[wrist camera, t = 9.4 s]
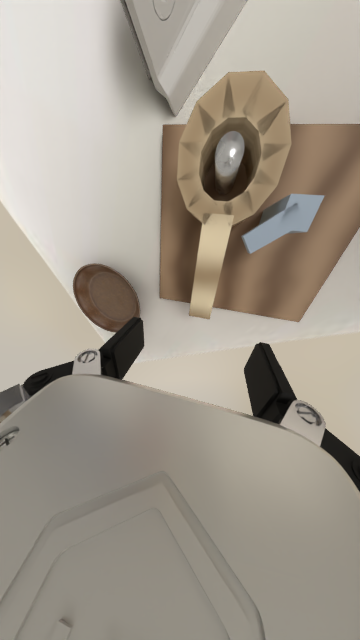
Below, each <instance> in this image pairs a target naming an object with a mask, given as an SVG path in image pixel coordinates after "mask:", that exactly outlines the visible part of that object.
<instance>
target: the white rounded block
mask: <svg viewBox="0 0 360 640" xmlns="http://www.w3.org/2000/svg"><path fill="white" fill-rule="evenodd" d="M120 1H121V3H122V6H123V9H124V12H125V15H126V17H127V20H128V23H129V26H130V28H131V31H132V34H133V37H134V40H135V42H136V45H137V48H138V51H139V54H140V56H141V59H142V62H143V65H144V67H145V70H146V73H147V75H148V78H149V79H150V77H152V80H153V83H154V86H155V89H156V90H157V91H158V92H159V93H160V94H162V95H163V96H164V97H165V98H166V99H167V101H168V103H169V106H170V108H171V110H172V113H173V114H174V115H175V116H177V114H178V113H179V111H180V109H181V108H182V106H183V104H184V103H185V101H186V99H187V98H188V96H189V95H190V93H191V91H192V90H193V88H194V86H195V85H196V83H197V82H198V80H199V78H200V77H201V75H202V73H203V72H204V70H205V68H206V67H207V65H208V64H209V62H210V60H211V59H212V57H213V55H214V54H215V52H216V51H217V49H218V47H219V46H220V44H221V42H222V41H223V39H224V37H225V36H226V34H227V33H228V31H229V29H230V28H231V26H232V24H233V23H234V21H235V20H236V18H237V16H238V15H239V13H240V11H241V10H242V8H243V6H244V5H245V3H246V2H247V0H120Z"/></svg>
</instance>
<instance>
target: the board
mask: <svg viewBox="0 0 360 640" xmlns="http://www.w3.org/2000/svg"><path fill="white" fill-rule="evenodd" d="M185 127H186V125H163V147H162V203H161V259H160V298H164V299H170V300H175V301H181V302H187V303H191V297H192V290H193V283H194V277H195V270H196V263H197V256H198V249H199V242H200V235H201V229H202V223H201V222H200V221H198V220H197V219H196V218H195V217H194V216H193V215H192V214H191V213H190V212H189V211H188V210H187V208H186V205H185V202H184V199H183V196H182V193H181V190H180V188H179V185H178V182H177V171H178V154H179V141H180V139H181V137H182V134H183V132H184V130H185ZM290 130H291V143H292V144H291V147H290V150H289V153H288V156H287V159H286V162H285V165H284V167H283V170H282V173H281V176H280V179H279V182H278V185H277V187H276V188H275V189H274V190H273V192H272V193H271V194H270V195H269V196H268V198H267V199H266V200H265V201H264V203H263V204H262V205H261V206H260V208H259V209H258V210H257V211H256V212H255V214H254V215H252V216H251V217H249V218H247V219H246V220H244V221H243V222H241V223H238V224H236V225H234V226H232V227H231V231H230V235H229V239H228V243H227V248H226V252H225V256H224V260H223V264H222V269H221V273H220V277H219V281H218V285H217V290H216V294H215V298H214V302H213V306H212V307H216V308H221V309H227V310H233V311H238V312H244V313H250V314H256V315H261V316H267V317H273V318H278V319H284V320H290V321H296V322H299V321H300V320H301V318H302V317H303V315H304V314H305V312H306V310H307V309H308V307H309V306H310V304H311V303H312V301H313V300H314V298H315V296H316V295H317V293H318V292H319V290H320V289H321V287H322V285H323V284H324V282H325V281H326V279H327V278H328V276H329V274H330V273H331V271H332V270H333V268H334V267H335V265H336V263H337V262H338V260H339V259H340V257H341V256H342V254H343V252H344V251H345V249H346V248H347V246H348V245H349V243H350V241H351V240H352V238H353V237H354V235H355V234H356V232H357V230H358V229H359V227H360V124H290ZM246 183H247V175H246V169H245V165H244V164H243V163H242V162H241V163H240V166H239V169H238V172H237V175H236V178H235V181H234V184H233V187H232V189H231V190H230V191H229V192H228V193H226V194H219V193H218V192H217V191H216V188H215V163H214V164H213V165H212V166H211V168H210V170H209V172H208V173H207V175H206V177H205V183H204V191H205V192H206V193H207V194H208V195H209V196H210V197H211V198H212V199H213V200H214V201H230V200H232V199H234V198H235V197H237V196H239V195H241V194H242V193H244V191H245V187H246ZM290 194H306V195H323V196H324V198H323V200H322V202H321V204H320V206H319V208H318V211H317V213H316V215H315V217H314V219H313V221H312V223H311V225H310V227H309V229H308V231H307V232H302V233H289V234H285V235H283V236H281V237H279V238H278V239H276V240H274V241H272V242H271V243H269V244H267V245H265V246H263V247H262V248H260V249H258V250H256V251H255V252H253V253H251V254H249V253H248V252H247V249H246V247H245V244H244V242H243V239H242V237H241V236H243V235H244V234H246V233H247V232H249V231H250V230H252V229H254V228H255V227H257V226H258V225H259V223H260V220H261V217H262V213H263V210H265V209H266V208H268V207H270V206H271V205H273V204H275V203H276V202H278V201H280V200H281V199H283V198H285V197H286V196H288V195H290Z"/></svg>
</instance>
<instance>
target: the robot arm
mask: <svg viewBox="0 0 360 640" xmlns="http://www.w3.org/2000/svg"><path fill="white" fill-rule="evenodd" d="M143 347H144V332H143V320H141V318H138V317H133V318H132V319H130V320H129V321H128V322H127V323H126V324H125V325H124V326H123V327H122V328H121V329H120V330H119V331H118V332H117V333H116V334H115V335H114V336H112V337H111V338H110V339H109V340H108V341H107V342H106V343H105V344H104V345H103V346H102V347H101V348H100V349H99V350H96V349H87V350H84V351H82V352H80V353H79V354H78V355H77V356H76V357H75V360H74V361H72V362H68V363H65V364H62V365H59V366H55V367H51V368H48V369H45V370H41V371H39V372H37V373H35V374H33V375H31V376H30V377H29V378H28V379H27V380H26V381H25V382H24V384H23V385H21V386H20V384H18V385H15V386H13V387H11V388H9V389H7V390H5V391H3V392H0V640H360V456H359V455H357V454H356V453H355V452H354V451H353V450H351V449H350V448H349V447H348V446H346V445H345V444H344V443H343V442H341V441H340V440H339V439H338V438H337V437H335V436H334V435H333V434H332V433H330V432H329V431H328V430H327V429H326V428H325V427H326V426H325V425H326V423H325V421H324V419H323V417H322V416H321V414H320V413H319V412H318V411H317V410H316V409H315V408H314V407H312V406H311V405H310V404H308V403H306V402H304V401H301V400H297V398H296V396H295V394H294V392H293V390H292V388H291V386H290V384H289V382H288V380H287V378H286V377H285V374H284V372H283V370H282V368H281V366H280V365H279V363H278V361H277V359H276V357H275V355H274V353H273V351H272V349H271V347H270V345H269V344H266V343H261V342H260V343H259V344H256V345H255V347H254V350H253V351H252V354H251V356H250V358H249V360H248V362H247V364H246V366H245V368H244V374H245V378H246V383H247V388H248V393H249V398H250V402H251V407H252V412H253V416H251V415H248V414H244V413H241V412H237V411H234V410H230V409H227V408H223V407H219V406H216V405H213V404H209V403H205V402H202V401H198V400H195V399H191V398H187V397H184V396H180V395H176V394H173V393H169V392H166V391H162V390H159V389H155V388H151V387H147V386H144V385H140V384H136V383H133V382H129V381H125V380H122V379H123V377H124V376H125V374H126V373H127V371H128V370H129V368H130V367H131V365H132V364H133V362H134V361H135V359H136V358H137V356H138V355H139V353H140V352H141V350H142V349H143Z"/></svg>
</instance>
